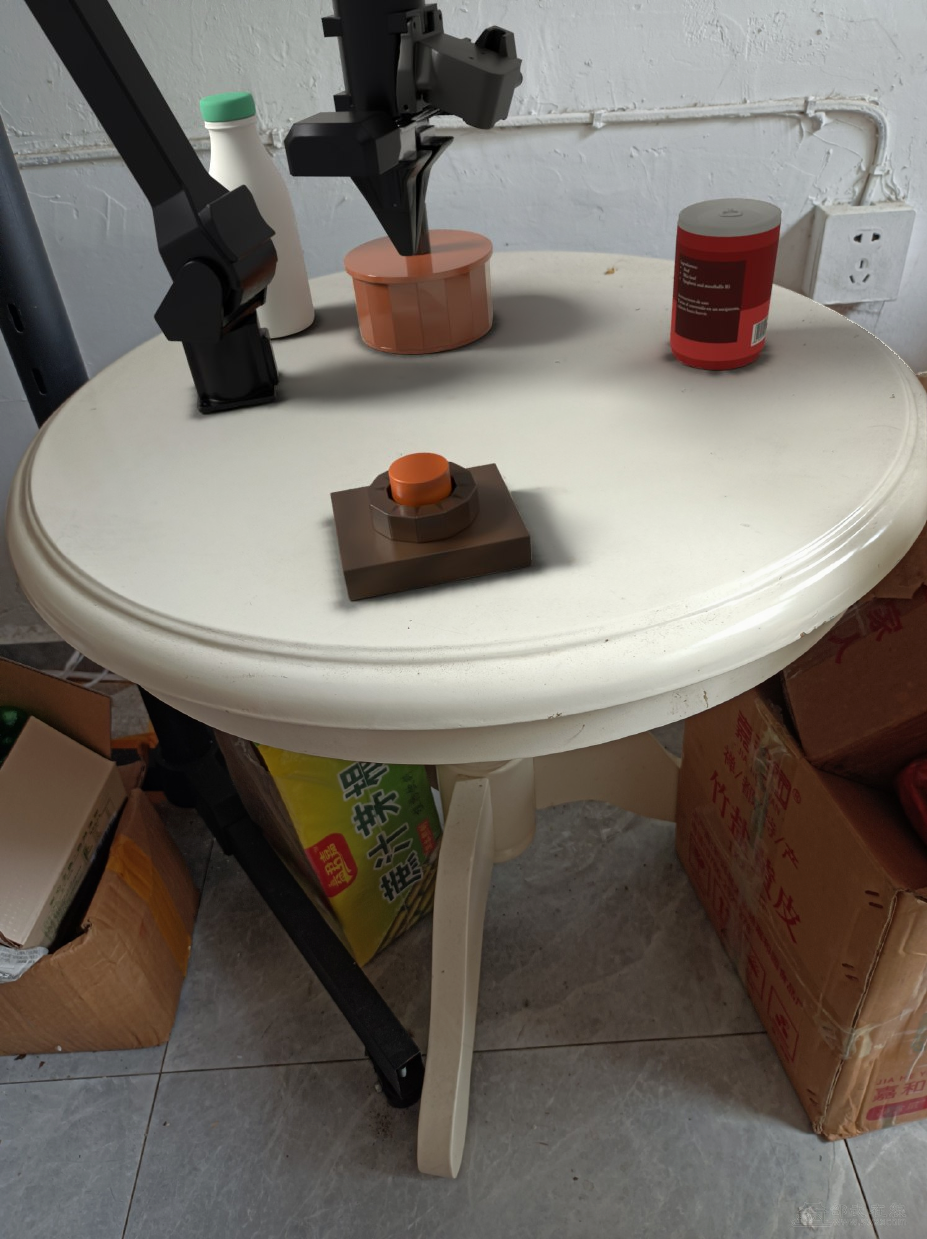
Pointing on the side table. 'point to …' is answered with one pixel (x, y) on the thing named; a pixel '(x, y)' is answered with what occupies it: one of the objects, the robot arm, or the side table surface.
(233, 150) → the milk bottle
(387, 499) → the block
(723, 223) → the canned food
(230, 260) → the robot arm
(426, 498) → the button
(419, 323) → the jar
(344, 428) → the side table surface
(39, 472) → the side table surface
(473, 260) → the jar lid
